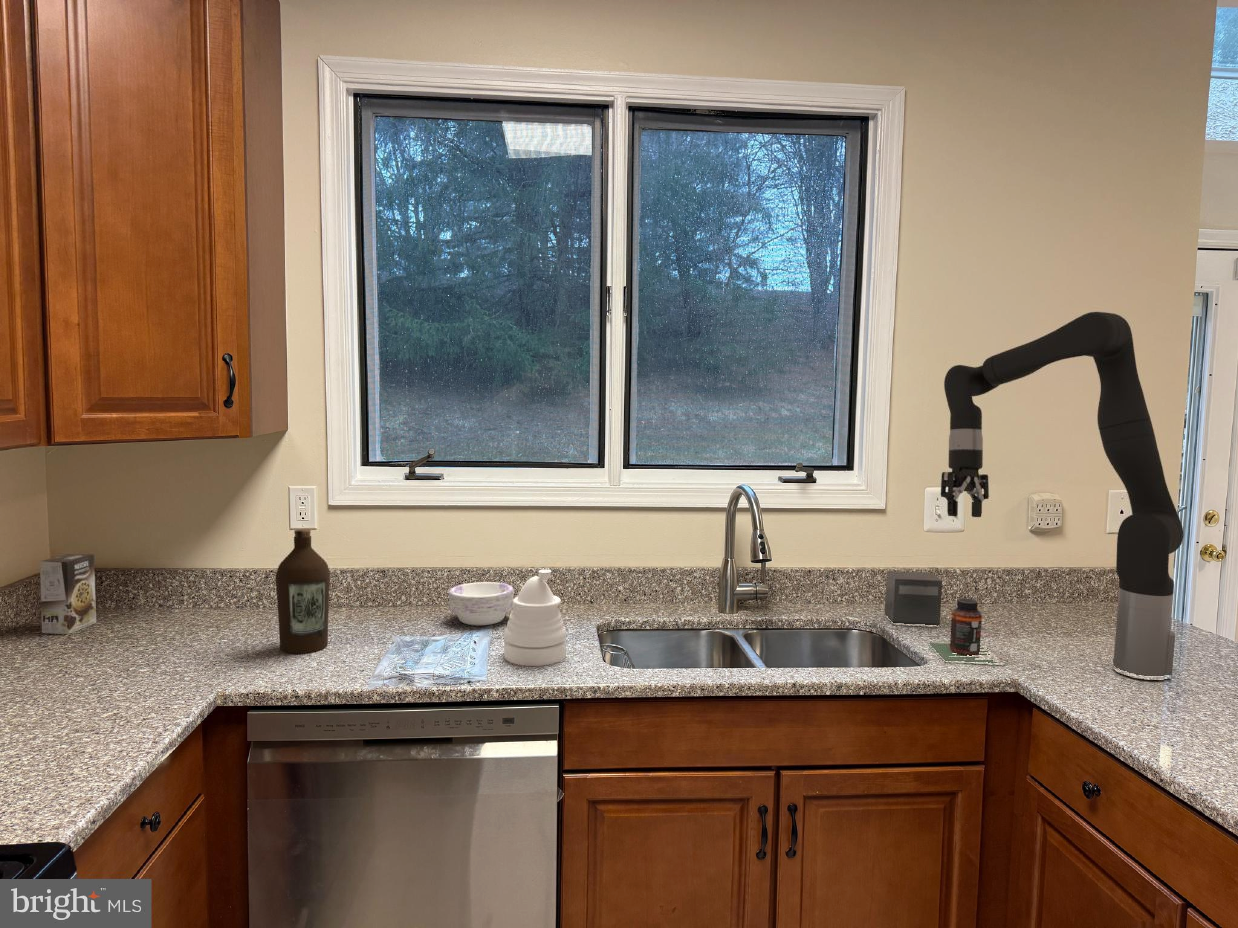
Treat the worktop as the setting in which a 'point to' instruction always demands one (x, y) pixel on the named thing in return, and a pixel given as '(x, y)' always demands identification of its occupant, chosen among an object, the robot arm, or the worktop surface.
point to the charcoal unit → (913, 597)
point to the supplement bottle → (966, 628)
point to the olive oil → (303, 598)
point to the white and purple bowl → (481, 602)
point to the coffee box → (67, 593)
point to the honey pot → (535, 626)
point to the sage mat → (946, 652)
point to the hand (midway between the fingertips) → (964, 516)
